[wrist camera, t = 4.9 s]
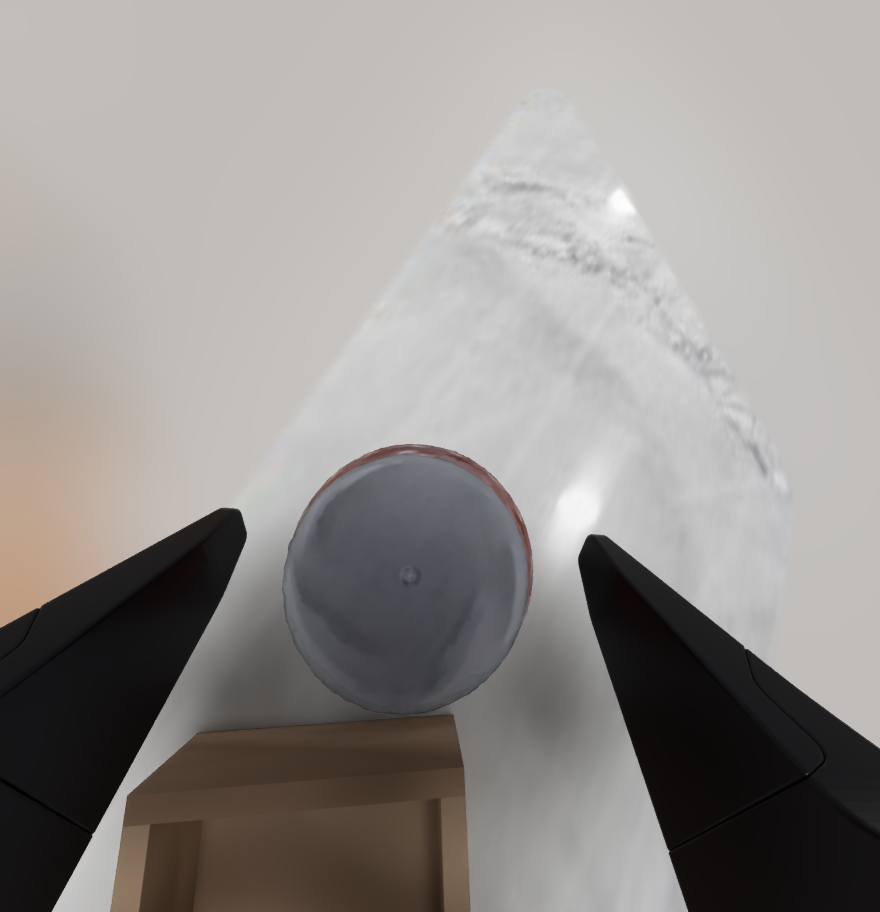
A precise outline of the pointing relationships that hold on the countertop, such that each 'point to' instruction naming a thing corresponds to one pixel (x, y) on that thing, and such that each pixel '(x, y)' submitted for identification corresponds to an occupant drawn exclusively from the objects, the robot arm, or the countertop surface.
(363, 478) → the supplement bottle
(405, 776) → the wooden box
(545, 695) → the countertop surface
